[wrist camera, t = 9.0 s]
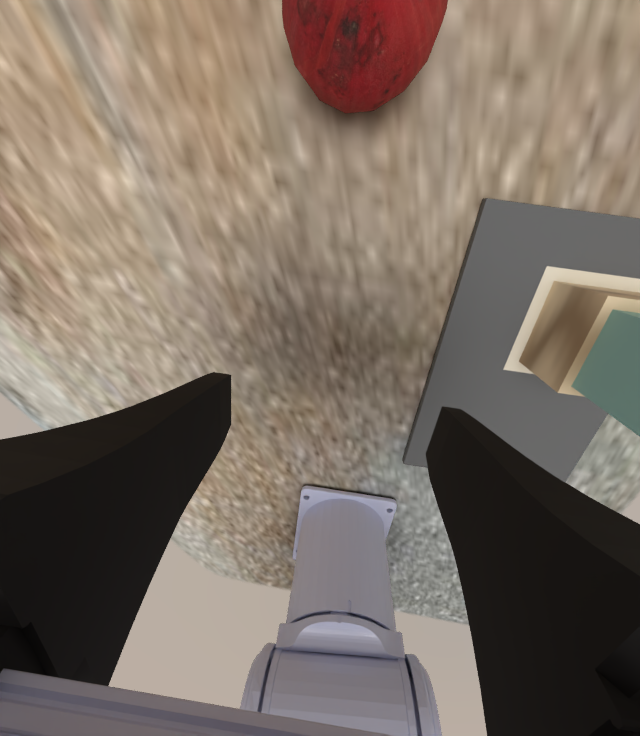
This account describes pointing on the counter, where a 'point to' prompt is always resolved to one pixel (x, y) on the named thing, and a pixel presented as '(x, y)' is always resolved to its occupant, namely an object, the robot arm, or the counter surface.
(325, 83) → the onion
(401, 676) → the robot arm
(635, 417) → the teal block
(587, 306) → the maple block
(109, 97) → the counter surface
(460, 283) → the mat
